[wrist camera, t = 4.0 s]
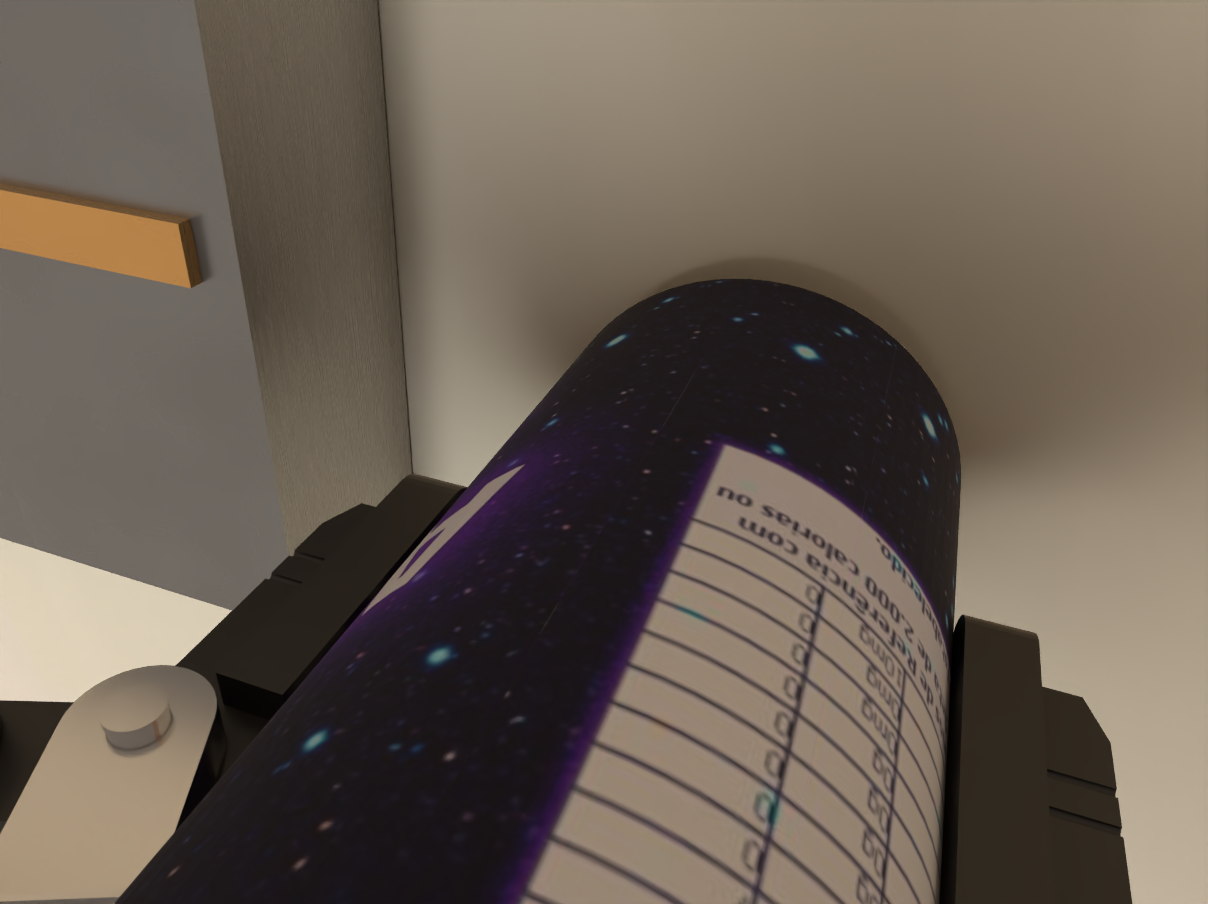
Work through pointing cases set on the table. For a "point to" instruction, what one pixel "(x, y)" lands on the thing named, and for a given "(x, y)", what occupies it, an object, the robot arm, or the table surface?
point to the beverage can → (638, 647)
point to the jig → (194, 284)
